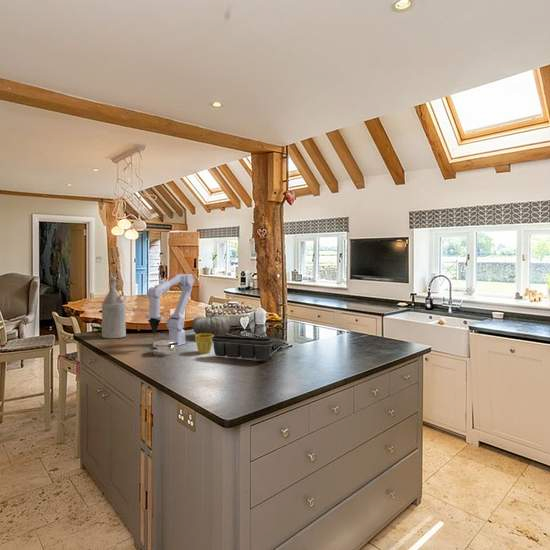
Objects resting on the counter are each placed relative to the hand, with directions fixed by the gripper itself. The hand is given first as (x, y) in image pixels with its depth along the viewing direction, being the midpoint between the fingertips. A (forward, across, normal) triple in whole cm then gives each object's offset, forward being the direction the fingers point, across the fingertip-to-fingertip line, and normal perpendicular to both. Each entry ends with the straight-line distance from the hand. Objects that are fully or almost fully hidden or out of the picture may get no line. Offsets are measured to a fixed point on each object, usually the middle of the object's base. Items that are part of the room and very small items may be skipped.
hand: (154, 331), depth 227 cm
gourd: (+11, -1, +46) cm, 48 cm away
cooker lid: (+5, +12, -2) cm, 14 cm away
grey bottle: (+11, -49, +5) cm, 50 cm away
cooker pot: (+10, +11, -2) cm, 15 cm away
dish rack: (+11, +46, +32) cm, 58 cm away
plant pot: (+11, +27, +14) cm, 32 cm away
